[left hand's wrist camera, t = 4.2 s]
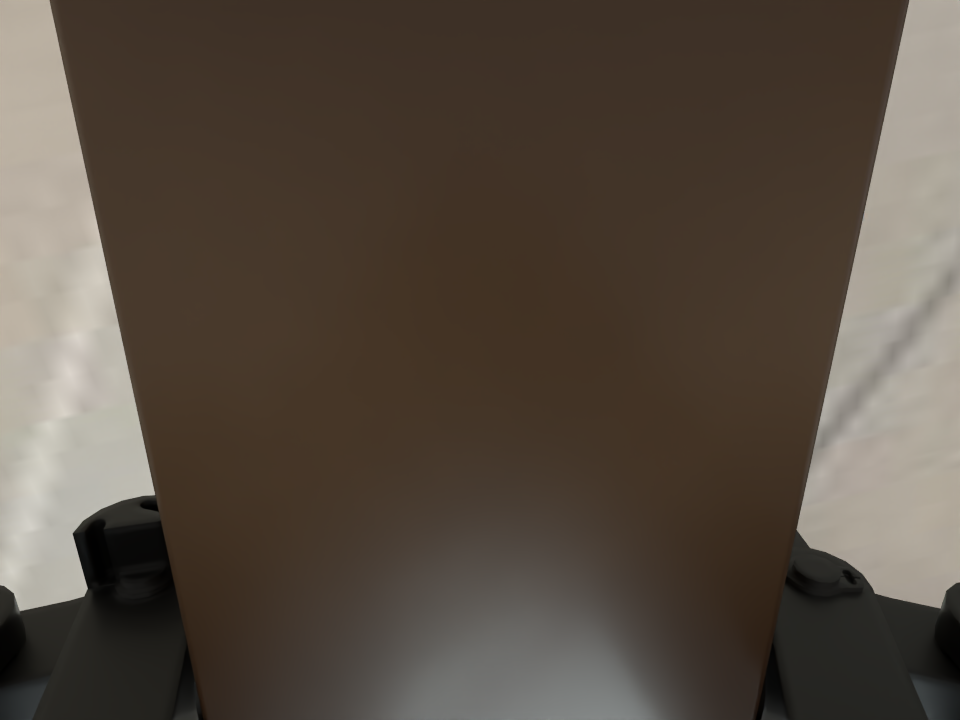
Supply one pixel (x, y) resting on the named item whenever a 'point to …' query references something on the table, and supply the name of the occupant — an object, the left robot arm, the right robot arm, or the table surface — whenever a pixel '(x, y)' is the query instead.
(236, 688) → the bar
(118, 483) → the table surface
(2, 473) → the table surface
